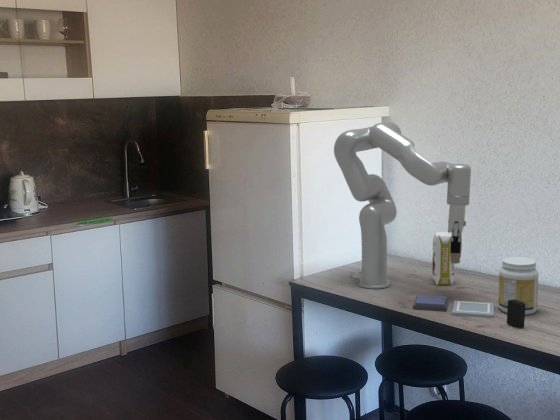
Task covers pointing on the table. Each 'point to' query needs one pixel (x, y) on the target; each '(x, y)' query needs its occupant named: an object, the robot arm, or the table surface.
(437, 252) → the juice carton
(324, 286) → the table surface
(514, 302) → the ink cartridge
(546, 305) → the table surface
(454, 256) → the handle
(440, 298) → the ink pad
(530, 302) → the supplement tub
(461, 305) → the marked board
